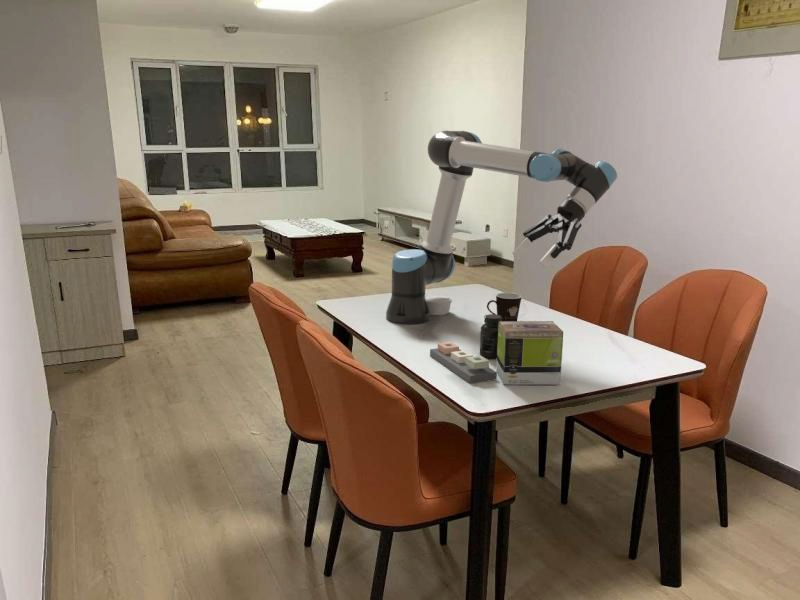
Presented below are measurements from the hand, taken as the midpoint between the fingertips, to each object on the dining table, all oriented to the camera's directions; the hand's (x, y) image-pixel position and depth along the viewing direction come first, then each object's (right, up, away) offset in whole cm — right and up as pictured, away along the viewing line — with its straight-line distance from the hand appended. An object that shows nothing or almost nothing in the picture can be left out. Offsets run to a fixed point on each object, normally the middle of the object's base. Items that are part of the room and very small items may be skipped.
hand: (528, 260), depth 182 cm
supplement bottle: (-10, -28, +3) cm, 30 cm away
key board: (-20, -30, -7) cm, 36 cm away
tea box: (-3, -32, -14) cm, 35 cm away
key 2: (-16, -28, -15) cm, 36 cm away
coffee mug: (-2, -20, +36) cm, 41 cm away
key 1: (-23, -26, 0) cm, 35 cm away
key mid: (-20, -28, -7) cm, 35 cm away
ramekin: (-24, -16, +49) cm, 57 cm away
